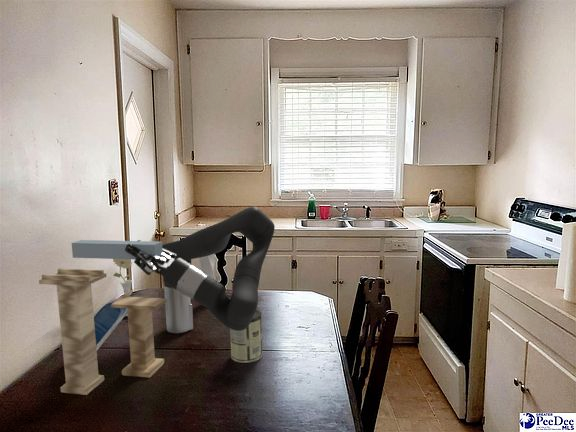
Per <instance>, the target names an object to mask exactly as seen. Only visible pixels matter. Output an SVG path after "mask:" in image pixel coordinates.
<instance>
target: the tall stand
mask: <svg viewBox="0 0 576 432" xmlns="http://www.w3.org/2000/svg"><path fill="white" fill-rule="evenodd" d="M107 276H108V275H107V273H105V271H104V270H103V269H83V268H82V269H81V268H61V267H60V268H57V273H55V274H50V273H48V274H46V273H42V274H41V279H39V280H38V284H39V285H48V286H49V285H50V286H51V285H52V286H54V285H55V286H56V294H57V295H56V296H57V303H58V313H59V314H58V315H59V323H60V324H59V326H60V332H61V333H60V335H61V345H62V346H61V348H62V356H63V358H62V359H63V366H64V378H65V383H64V384H63V385H62V386H60V393H65V394H74V395H83V396H85V395H86V396H87V395H89V394H90V392H92V391H93V390H94V389H95V388H97V387H98V386H99V385H101V384H102V383H103V382H104V381H105V375H103V374H100V373H99V366H98V365H99V364H98V363H99V362H98V353H97V351H98V350H96V338H95V326H94V317H95V315H94V305H93V304H94V303H93V294H92V290H93V289H92V284H94V283H96V282H98V281H100V280H102V279H104V278H107Z"/></svg>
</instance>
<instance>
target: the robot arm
mask: <svg viewBox="0 0 576 432" xmlns="http://www.w3.org/2000/svg"><path fill="white" fill-rule="evenodd" d="M234 233H240V234H241V235H242V236H243V237H245V238H246V239H248V241H250V242H251V243H252V244H251V245H252V249H251V251H250V252H249V253H247V254H246V255H245V256H244V257H242V258H241V259H239V261H238V262H237V265H236V267H235V270H234V275H233V280H232V283H231V284H232V285H231V286H232V287H231V290H232V292H231V295H230V298H229V297H228V296H227V294H226V288H225V286H224V284H222V283H220V282H219V280H218V281H217V279H215V280H214V279H213V278H211V277H209V276H208V275H206V274H205V273H204V272H203V271H201V270H200V268H198V267H197V266H195V265H193V264H192V260H194V259H199V258H201V257H205V256H209V255H212V254H215V255H216V254H218V253H221V252H222V251H223V250H224V249H226V247H227V245H228V243H229V241H230V238H231V235H233V234H234ZM274 234H275V223H274V222H273V221H272V220H271V218H269V216H267V215H266V214H265V213H264V212H263V211H262V210H261V209H260V208H258V207H257V206H249V207H246V208H244V209H243V210H240V211H239V212H237V213H235V214H233V215H231V216H230V217H228V218H226V219H224V220H222V221H219V222H217V223H215V224H213V225H208V226H206V227H204V228H201V229H199V230H197V231H195V232H194V233H190V234H189V235H187V236H185V237H184V238H181V239H179V240H176V241H169V242H166V243H162V250H163V253H161V257H158V256H153V255H152V254H147V253H145V252H143V251H141V250H140V249H138V248H137V247H135V246H133V245H132V244H127V246H126V248H125V251H126V252H128V253H129V254H131V255H132V256H134V257H136V259H135V260H134V261H133V263H134V264H135V265H136V266H137V267H139V268H140V270H142V271H143V273H145V274H146V275H148V276H150V275H151V274H152V273H156V274H158V275H161V276H162V278H163V279H162V281H163V287H164V288H163V289H164V290H163V291H164V299H166V303H164V304H165V305H164V306H165V322H166V332H168V333H171V334H180V333H181V334H182V333H186V332H188V331H191V330H194V321H193V320H194V319H193V318H194V316H193V315H194V314H193V304H192V303H191V300H194V301H195V302H197V303H198V304H199V305H201V306H202V305H203V307H205V308H207V310H209V311H210V313H211V314H212V315H213V316H214V317H215V318H216V319H217V320H218V321H219V322H221V324H222V325H223V326H225V327H226V328H228V329H229V330H230V329H232V330H236V331H242V330H244V329H246V328H247V327H248V326H249V324H250V322H251V320H252V318H253V316H254V314H255V312H256V310H258V309H257V308H258V303H259V293H258V292H259V291H258V289H259V287H260V286H259V285H260V281H261V280H260V279H261V273H262V269H263V265H264V261H265V259H266V256H267V253H268V252H269V249H270V245H271V243H272V239H273V238H274ZM137 241H142V240H140V239H139V240H137ZM144 256H145V257H147V258H145V257H144ZM150 258H152V259H151V260H149V259H150Z"/></svg>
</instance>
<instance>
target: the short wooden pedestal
mask: <svg viewBox="0 0 576 432" xmlns="http://www.w3.org/2000/svg"><path fill="white" fill-rule="evenodd" d="M123 296H124V295H123ZM165 303H166V299H165V298H161V297H141V296H131V297H126V296H124V297H123V298H121V299H119V300H117V301H116V302H114V303H112V304H111V307H114V308H127V313H128V316H127V323H128V335H129V337H128V338H129V353H130V363H129V364H127V365H126V366H125V367H123V369H122V370H121V375H122V376H127V377H140V378H149V379H150V378H151V377H152V376H154V374H155V373H156V372H157V371H158V370H159V369H160V368H161V367H162V366H163V365H164V364H165V358H158V357H156V356H155V355H156V354H155V342H154V341H155V340H154V327H153V326H154V325H153V311H155V310H157V309H159V308H160V307H162V306H163V305H164V304H165Z"/></svg>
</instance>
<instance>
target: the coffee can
mask: <svg viewBox="0 0 576 432" xmlns="http://www.w3.org/2000/svg"><path fill="white" fill-rule="evenodd" d="M229 334H230V335H229V336H230V337H229V339H230V340H229V341H230V359H231V360H233V361H234V362H236V363H242V364H244V363H245V364H246V363H248V364H249V363H253V362H257V361H259V360H260V359H262V357H263V339H262V338H263V337H262V336H263V335H262V312H261V310H258V309H256V312H255V314H254V316H253V318H252V320H251V322H250V324H249V326H248V327H247V328H246V329H244V330H242V331H236V330H232V329H230V328H229Z"/></svg>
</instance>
